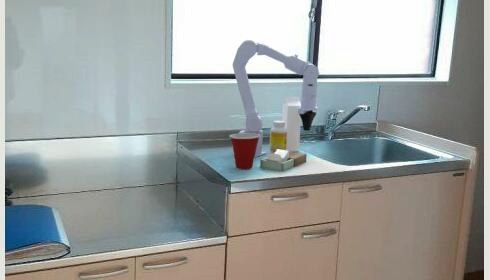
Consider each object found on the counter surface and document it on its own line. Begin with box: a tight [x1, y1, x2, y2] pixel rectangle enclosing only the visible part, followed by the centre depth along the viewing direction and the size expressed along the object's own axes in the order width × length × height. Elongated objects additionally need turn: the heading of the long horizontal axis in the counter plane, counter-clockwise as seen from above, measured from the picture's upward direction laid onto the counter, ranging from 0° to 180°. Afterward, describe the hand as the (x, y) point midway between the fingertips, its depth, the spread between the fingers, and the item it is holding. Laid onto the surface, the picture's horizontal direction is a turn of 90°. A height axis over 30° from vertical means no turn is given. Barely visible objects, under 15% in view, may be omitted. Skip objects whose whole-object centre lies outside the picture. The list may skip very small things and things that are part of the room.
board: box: [287, 151, 308, 168], centre depth 201 cm, size 10×10×3 cm
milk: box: [281, 96, 302, 153], centre depth 220 cm, size 6×6×22 cm
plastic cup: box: [229, 132, 260, 171], centre depth 189 cm, size 11×11×12 cm
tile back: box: [274, 149, 290, 162], centre depth 194 cm, size 4×4×2 cm
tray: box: [259, 157, 295, 172], centre depth 193 cm, size 9×9×3 cm
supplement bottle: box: [268, 120, 287, 154], centre depth 214 cm, size 7×7×13 cm
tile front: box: [267, 152, 284, 163], centre depth 191 cm, size 4×4×2 cm
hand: (306, 130), depth 210 cm, fingers closed
